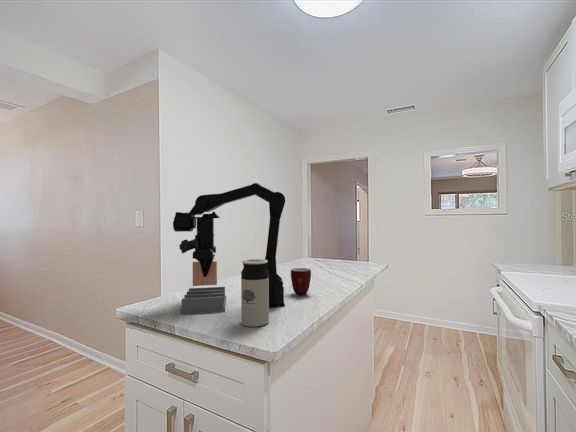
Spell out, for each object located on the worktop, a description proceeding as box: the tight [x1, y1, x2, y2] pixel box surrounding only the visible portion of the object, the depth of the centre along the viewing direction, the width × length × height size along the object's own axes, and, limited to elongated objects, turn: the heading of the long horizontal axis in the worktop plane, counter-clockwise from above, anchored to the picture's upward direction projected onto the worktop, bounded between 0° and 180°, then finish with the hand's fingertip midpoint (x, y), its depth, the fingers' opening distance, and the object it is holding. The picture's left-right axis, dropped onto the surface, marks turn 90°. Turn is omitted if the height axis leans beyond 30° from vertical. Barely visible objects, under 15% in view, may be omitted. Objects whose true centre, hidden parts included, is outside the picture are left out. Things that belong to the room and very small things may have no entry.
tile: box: [192, 260, 218, 287], centre depth 101 cm, size 8×2×8 cm, turn 100°
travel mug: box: [240, 258, 270, 328], centre depth 84 cm, size 8×8×18 cm
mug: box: [290, 267, 312, 297], centre depth 114 cm, size 11×8×10 cm
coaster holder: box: [179, 286, 227, 315], centre depth 101 cm, size 14×16×5 cm
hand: (205, 276), depth 101 cm, fingers closed on tile, 2 cm apart
